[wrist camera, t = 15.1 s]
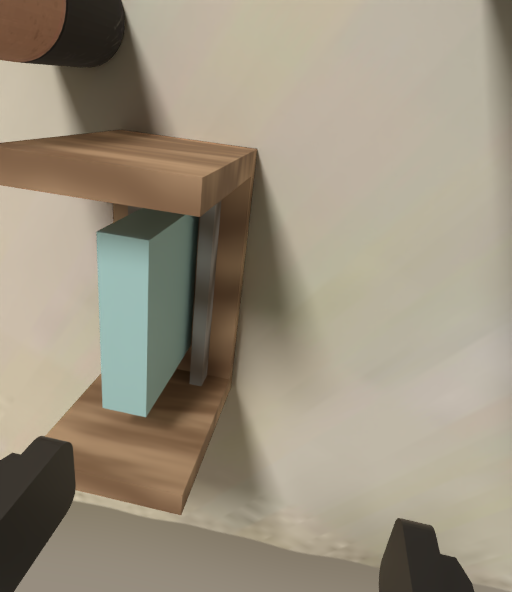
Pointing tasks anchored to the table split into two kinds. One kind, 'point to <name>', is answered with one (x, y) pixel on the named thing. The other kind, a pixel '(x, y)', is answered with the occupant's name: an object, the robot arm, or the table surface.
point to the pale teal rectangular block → (144, 304)
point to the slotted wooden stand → (206, 305)
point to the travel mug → (60, 31)
